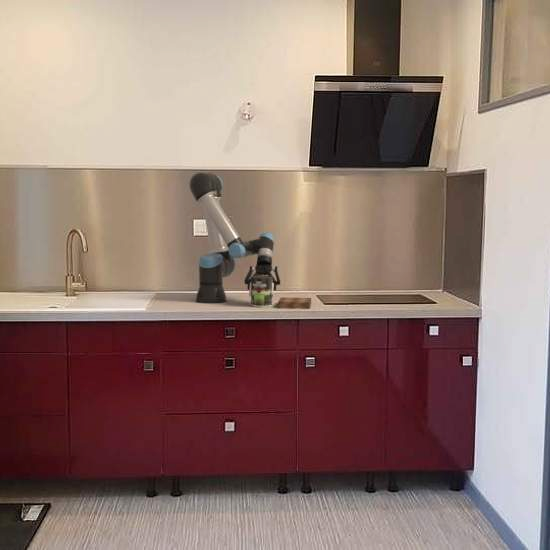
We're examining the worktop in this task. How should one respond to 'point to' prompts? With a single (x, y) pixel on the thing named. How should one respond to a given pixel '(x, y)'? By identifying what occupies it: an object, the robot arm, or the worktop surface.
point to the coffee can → (261, 291)
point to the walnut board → (294, 303)
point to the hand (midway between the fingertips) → (261, 295)
